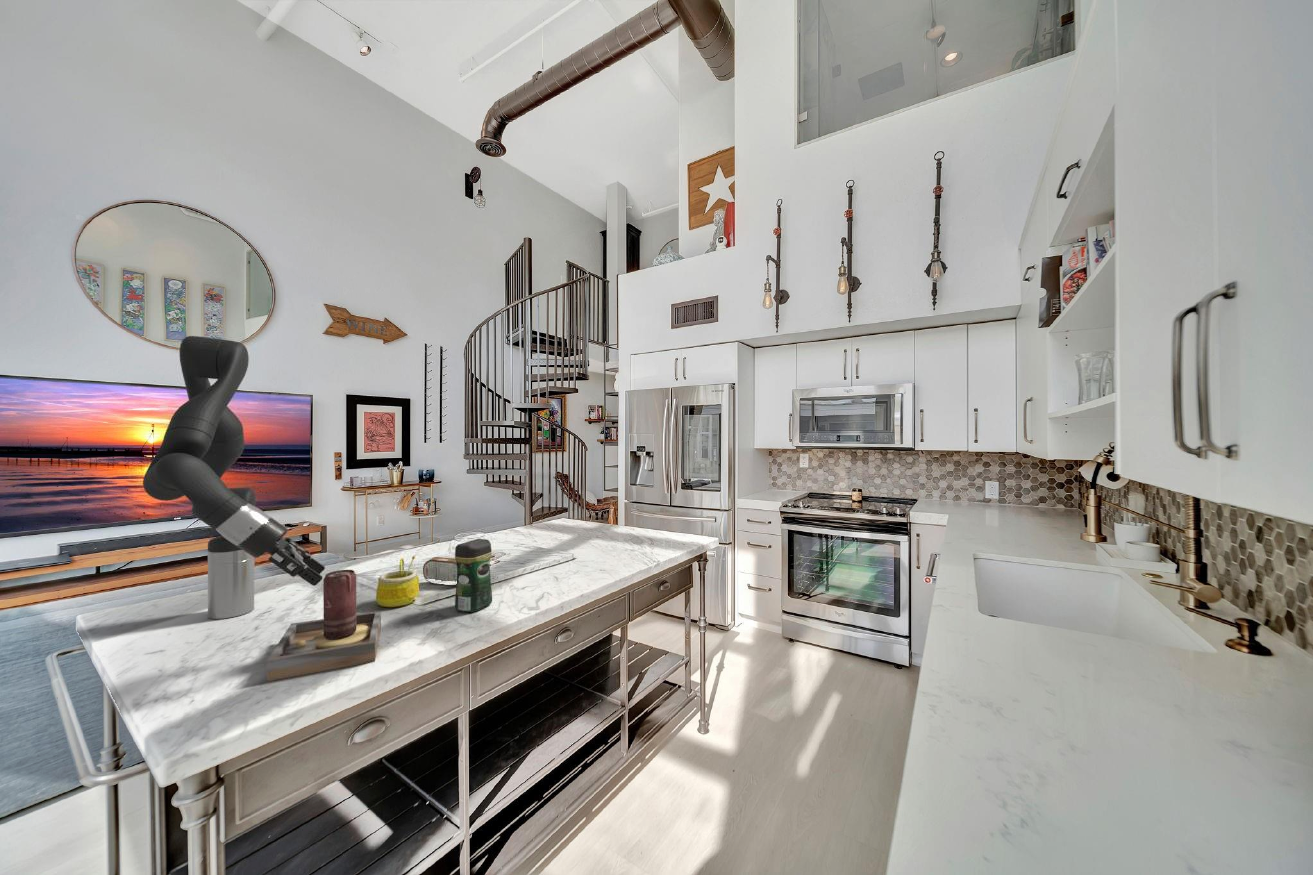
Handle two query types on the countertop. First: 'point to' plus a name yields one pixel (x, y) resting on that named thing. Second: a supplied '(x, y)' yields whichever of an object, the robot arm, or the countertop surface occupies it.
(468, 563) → the coffee jar
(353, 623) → the can
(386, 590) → the yellow pot
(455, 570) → the tin
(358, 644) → the carrier tray
